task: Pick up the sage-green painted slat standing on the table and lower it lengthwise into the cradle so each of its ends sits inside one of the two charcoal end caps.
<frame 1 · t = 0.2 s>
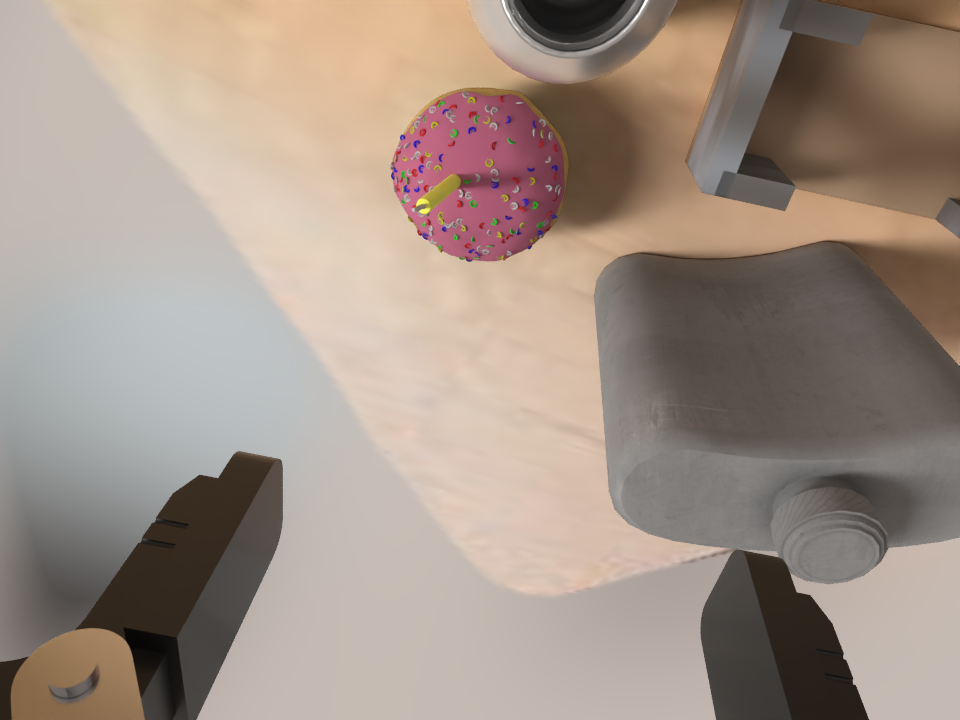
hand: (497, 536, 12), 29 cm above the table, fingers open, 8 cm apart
flask: (722, 290, 40), on the table
cradle: (883, 116, 34), on the table
cupcake: (490, 152, 37), on the table
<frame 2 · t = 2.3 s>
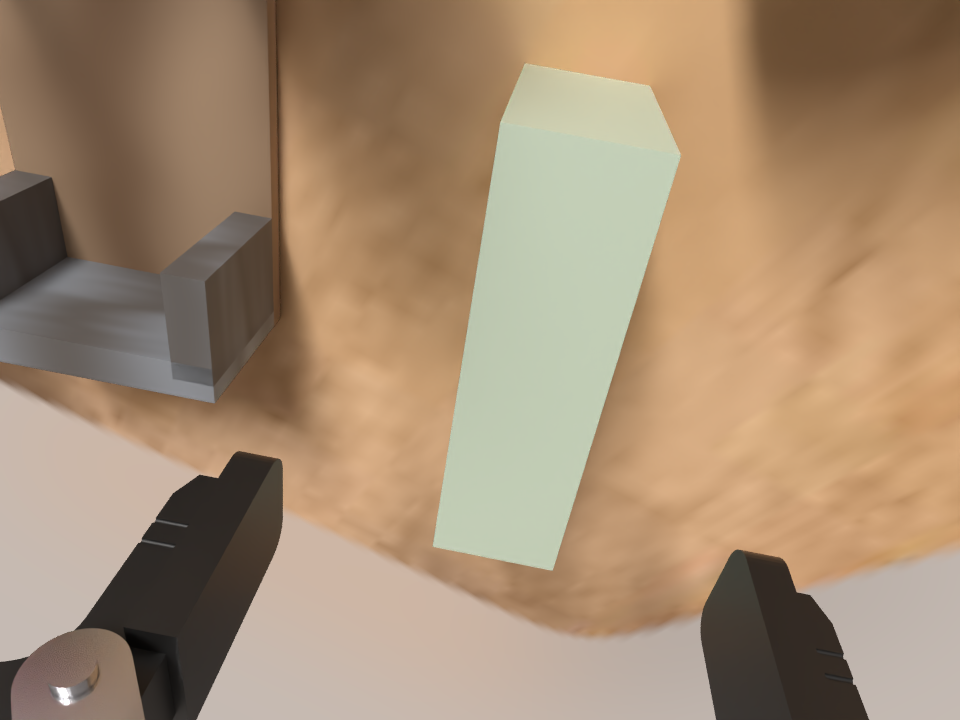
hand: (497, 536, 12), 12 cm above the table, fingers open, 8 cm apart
cradle: (134, 30, 20), on the table
slat: (544, 268, 22), on the table
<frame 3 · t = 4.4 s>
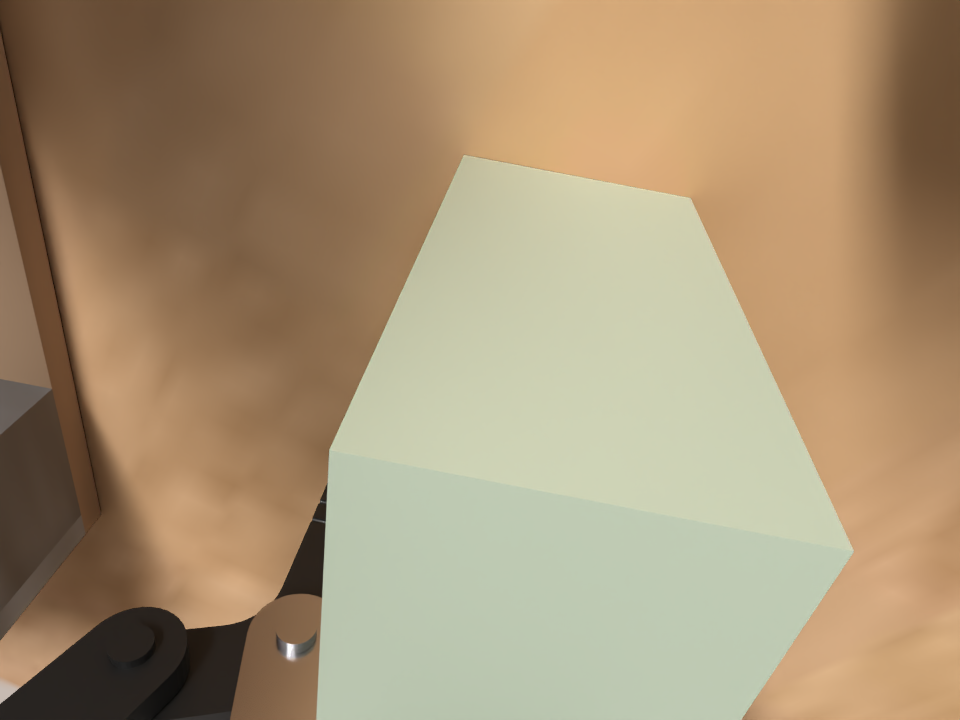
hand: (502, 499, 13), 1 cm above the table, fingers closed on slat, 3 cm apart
slat: (507, 468, 14), on the table, touching gripper
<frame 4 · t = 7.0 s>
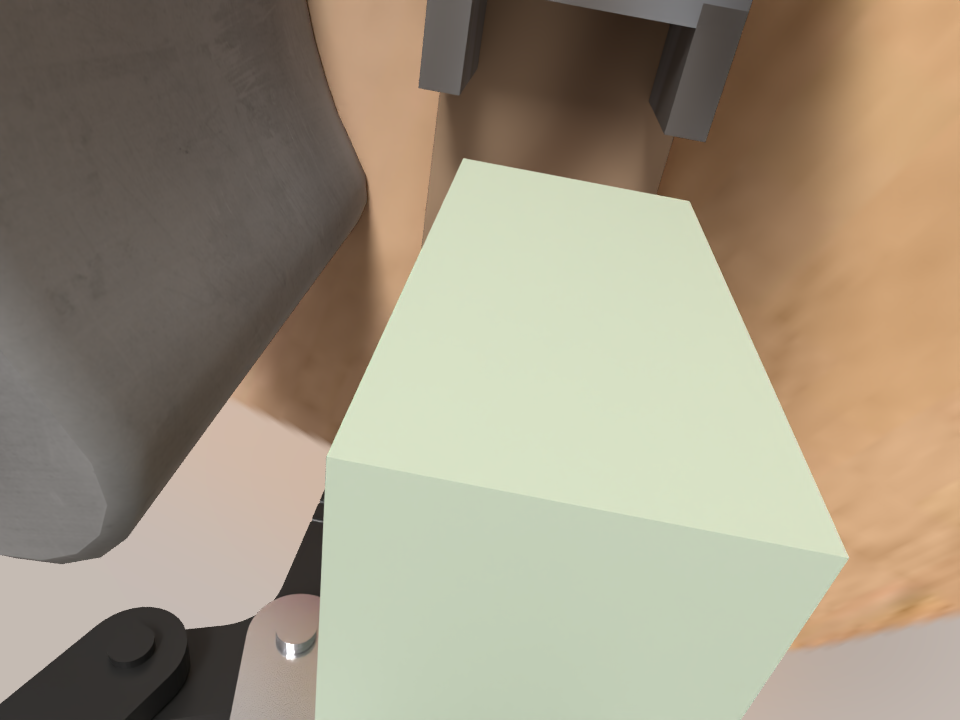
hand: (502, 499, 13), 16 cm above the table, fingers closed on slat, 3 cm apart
flask: (260, 44, 25), on the table
cradle: (536, 208, 27), on the table
slat: (506, 470, 14), point 15 cm above the table, touching gripper
when the fingers open (3 cm above the table, at t = 9.7 s): slat drops 1 cm, resting on cradle.
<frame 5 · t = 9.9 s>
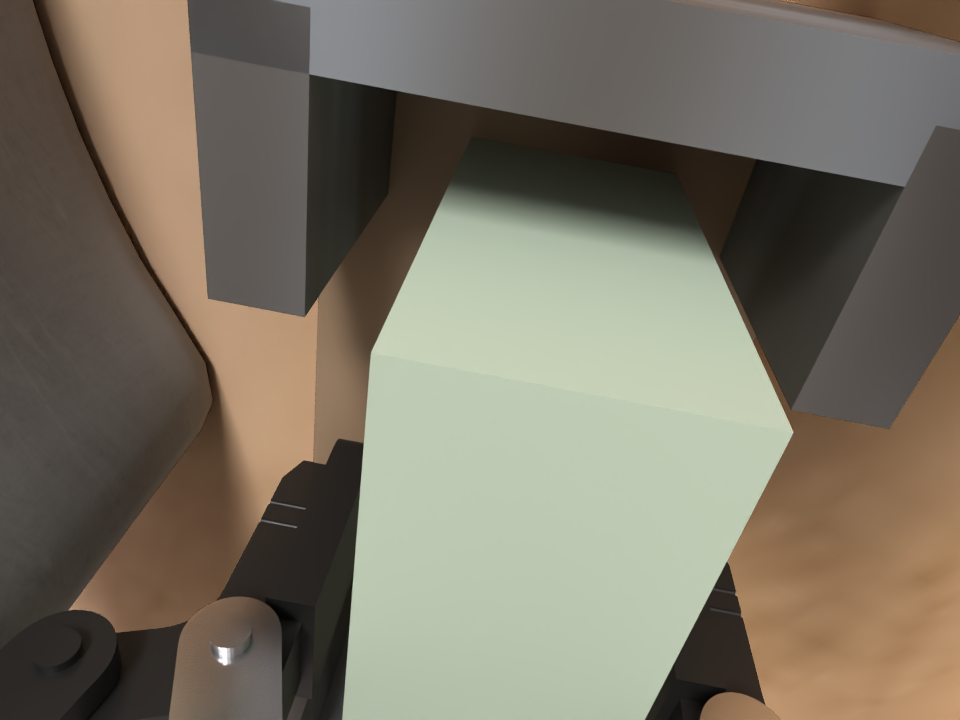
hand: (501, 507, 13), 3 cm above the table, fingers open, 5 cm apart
cradle: (508, 413, 15), on the table
slat: (511, 431, 15), point 1 cm above the table, touching cradle
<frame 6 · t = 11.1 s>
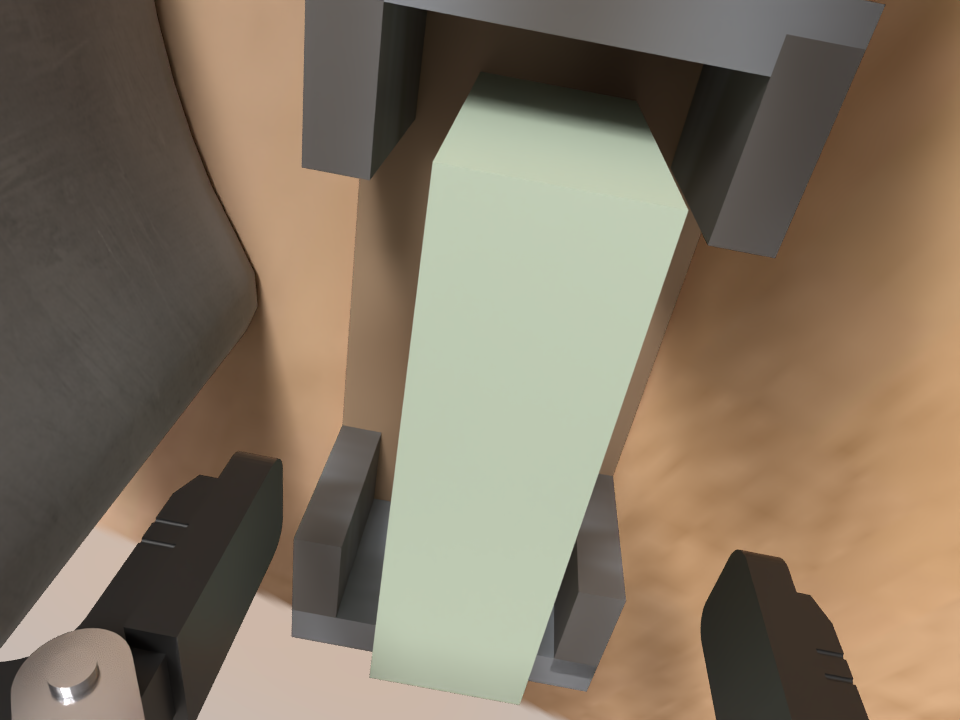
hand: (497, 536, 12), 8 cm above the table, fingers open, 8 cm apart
flask: (98, 83, 17), on the table
cradle: (507, 307, 19), on the table
slat: (509, 319, 18), point 1 cm above the table, touching cradle
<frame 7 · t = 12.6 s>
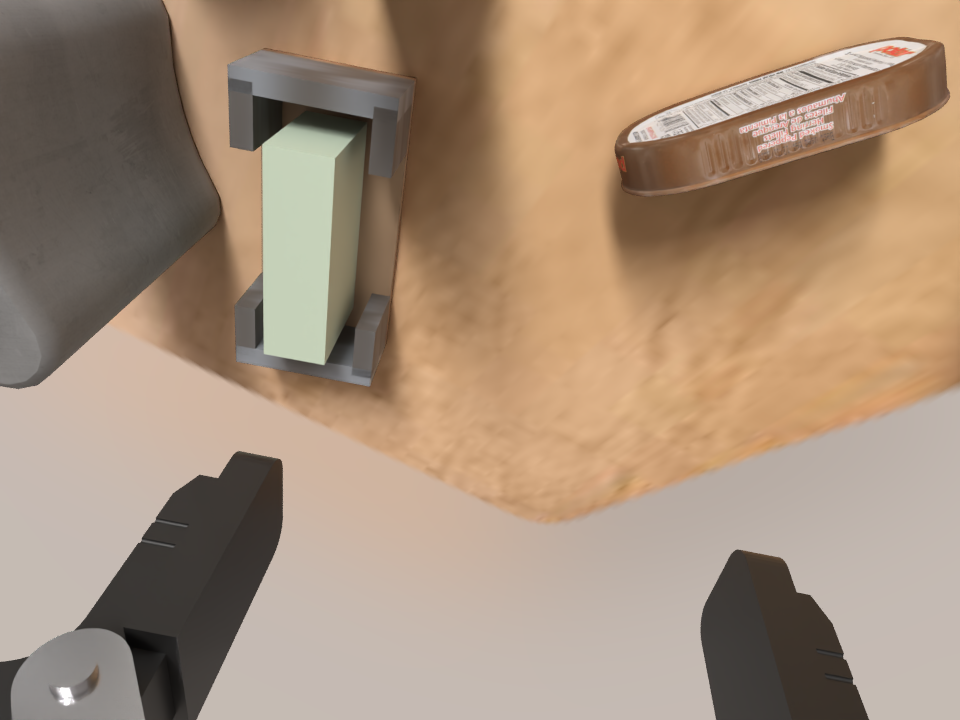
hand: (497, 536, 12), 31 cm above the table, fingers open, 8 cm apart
flask: (151, 113, 40), on the table
tin: (746, 97, 37), on the table
cradle: (332, 212, 42), on the table
slat: (331, 216, 42), point 1 cm above the table, touching cradle
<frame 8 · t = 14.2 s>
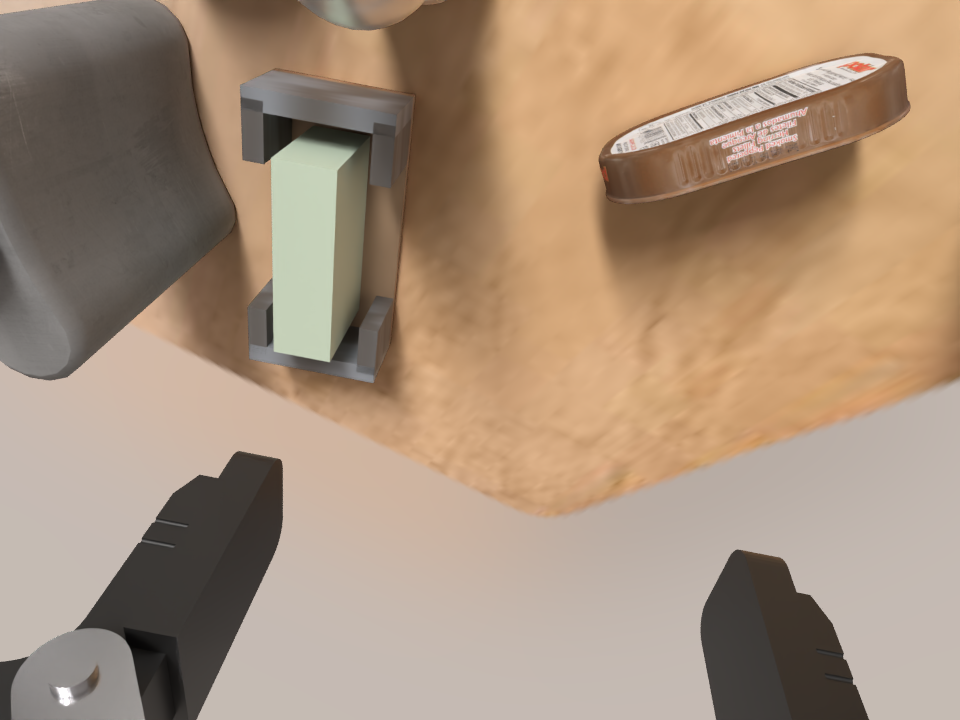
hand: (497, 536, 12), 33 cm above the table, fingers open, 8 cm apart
flask: (172, 128, 43), on the table
tin: (725, 109, 39), on the table
cradle: (339, 220, 45), on the table
slat: (338, 223, 44), point 1 cm above the table, touching cradle
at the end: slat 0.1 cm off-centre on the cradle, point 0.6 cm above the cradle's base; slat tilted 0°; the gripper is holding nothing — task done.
